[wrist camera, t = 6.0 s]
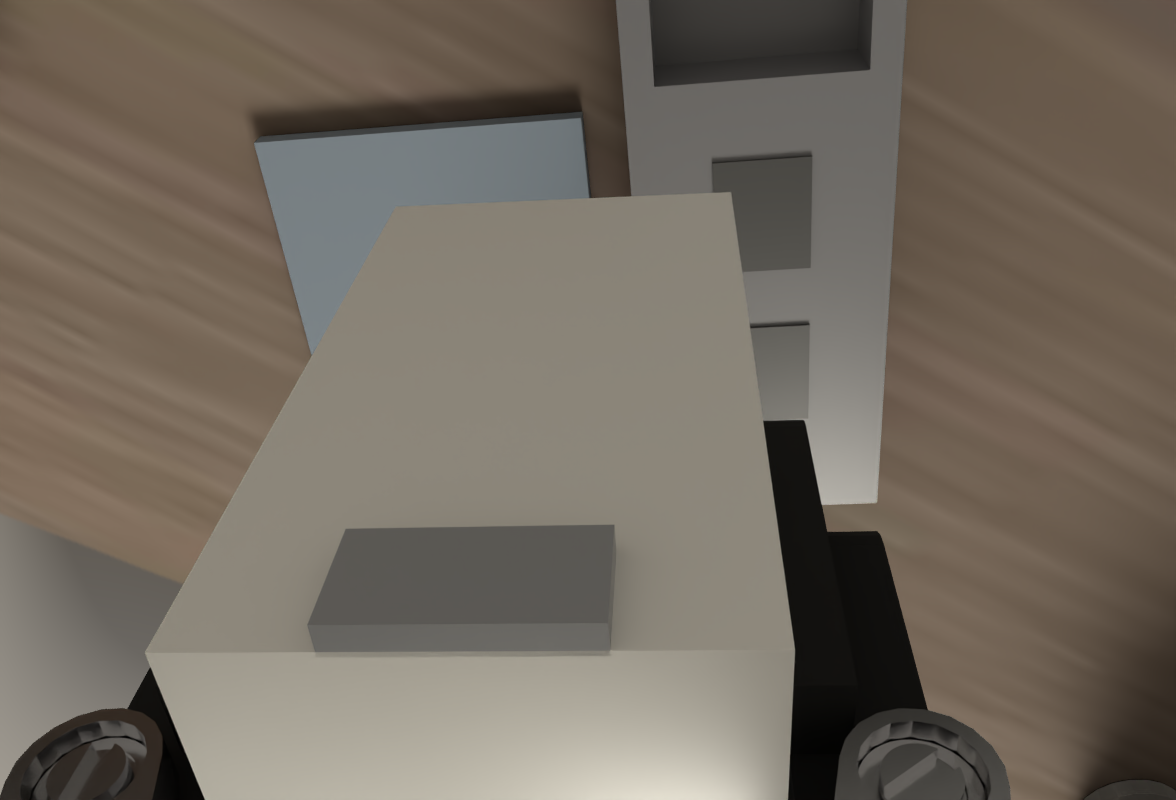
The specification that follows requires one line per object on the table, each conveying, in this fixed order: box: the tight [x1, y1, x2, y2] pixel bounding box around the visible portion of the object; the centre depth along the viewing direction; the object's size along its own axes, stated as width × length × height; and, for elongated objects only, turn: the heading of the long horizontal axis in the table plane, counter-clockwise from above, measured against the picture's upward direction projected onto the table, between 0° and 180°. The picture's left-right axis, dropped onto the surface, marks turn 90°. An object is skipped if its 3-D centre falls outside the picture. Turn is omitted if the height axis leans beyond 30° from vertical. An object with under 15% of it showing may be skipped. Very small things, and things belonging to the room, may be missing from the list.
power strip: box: [616, 0, 907, 505], centre depth 29 cm, size 7×24×4 cm, turn 6°
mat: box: [254, 112, 591, 355], centre depth 34 cm, size 10×10×1 cm
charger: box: [145, 192, 795, 800], centre depth 12 cm, size 4×6×8 cm
